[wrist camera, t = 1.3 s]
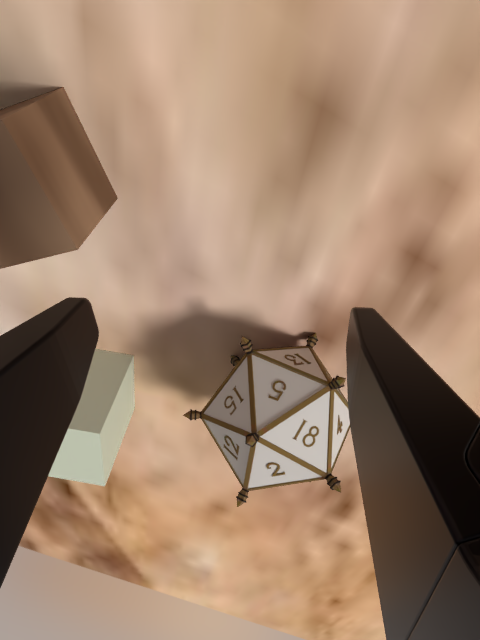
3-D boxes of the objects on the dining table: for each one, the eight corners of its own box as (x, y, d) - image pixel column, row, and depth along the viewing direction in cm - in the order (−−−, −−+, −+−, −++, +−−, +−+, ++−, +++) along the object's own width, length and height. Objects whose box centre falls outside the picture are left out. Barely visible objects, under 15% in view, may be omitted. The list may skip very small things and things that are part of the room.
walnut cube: (64, 86, 19) (1, 119, 15) (118, 197, 22) (77, 249, 18) (-31, 121, 20) (-111, 159, 16) (31, 221, 23) (-24, 274, 19)
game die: (314, 317, 29) (436, 431, 23) (238, 414, 32) (331, 542, 25) (221, 274, 23) (356, 416, 16) (133, 399, 25) (223, 568, 19)
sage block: (133, 354, 28) (99, 433, 23) (134, 407, 31) (105, 486, 27) (54, 341, 28) (4, 416, 24) (63, 394, 31) (20, 471, 27)
